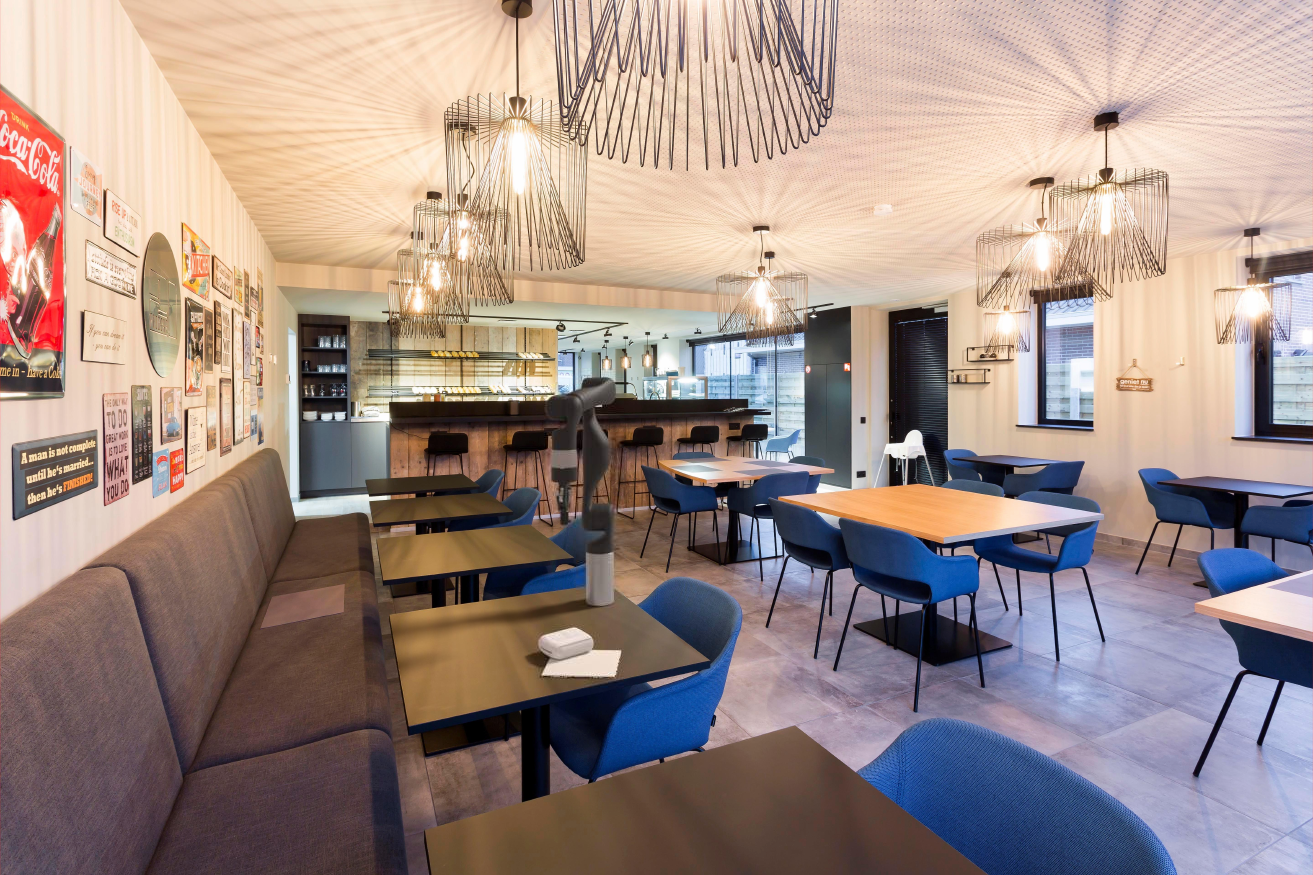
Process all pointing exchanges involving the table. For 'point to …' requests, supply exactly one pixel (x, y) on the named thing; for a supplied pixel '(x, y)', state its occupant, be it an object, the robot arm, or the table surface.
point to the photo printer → (565, 643)
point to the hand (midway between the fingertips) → (564, 524)
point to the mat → (585, 664)
